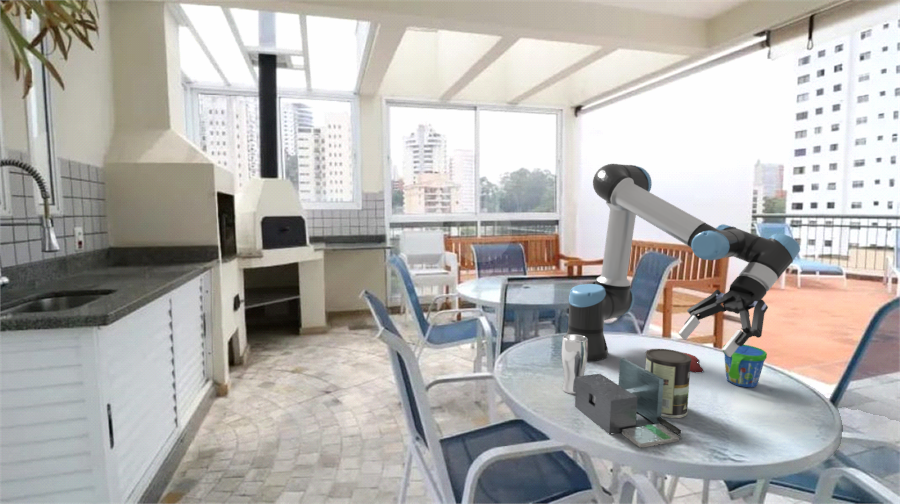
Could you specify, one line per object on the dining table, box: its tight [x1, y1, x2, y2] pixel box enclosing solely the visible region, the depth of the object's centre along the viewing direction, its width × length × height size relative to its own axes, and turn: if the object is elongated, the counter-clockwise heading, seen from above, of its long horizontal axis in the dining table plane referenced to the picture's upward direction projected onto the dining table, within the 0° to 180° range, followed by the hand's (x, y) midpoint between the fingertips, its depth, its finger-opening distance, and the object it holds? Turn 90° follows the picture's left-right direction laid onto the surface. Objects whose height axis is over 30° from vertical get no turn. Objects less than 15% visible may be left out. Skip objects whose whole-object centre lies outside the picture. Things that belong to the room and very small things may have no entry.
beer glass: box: [561, 333, 588, 395], centre depth 121 cm, size 7×7×15 cm
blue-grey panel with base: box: [592, 357, 682, 435], centre depth 104 cm, size 20×13×11 cm, turn 16°
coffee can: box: [644, 348, 692, 419], centre depth 110 cm, size 10×10×14 cm
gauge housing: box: [574, 373, 682, 449], centre depth 104 cm, size 20×14×8 cm, turn 16°
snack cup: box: [722, 344, 768, 388], centre depth 127 cm, size 16×10×10 cm
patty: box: [683, 352, 704, 373], centre depth 144 cm, size 18×14×2 cm
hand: (702, 344), depth 112 cm, fingers open, 13 cm apart
